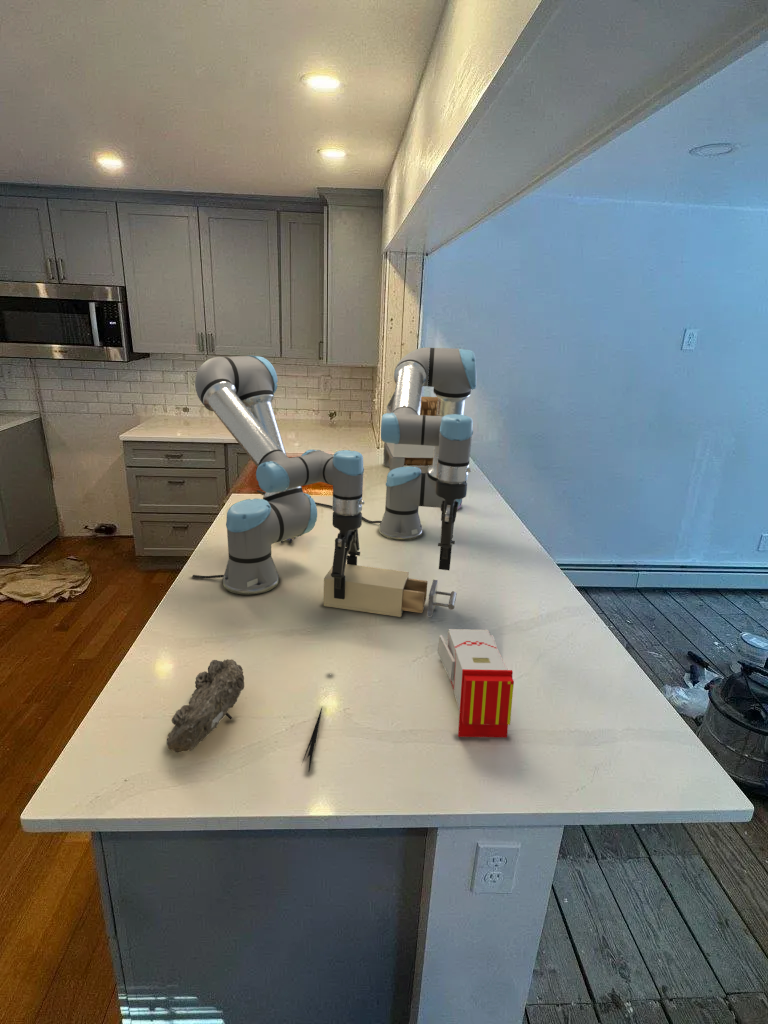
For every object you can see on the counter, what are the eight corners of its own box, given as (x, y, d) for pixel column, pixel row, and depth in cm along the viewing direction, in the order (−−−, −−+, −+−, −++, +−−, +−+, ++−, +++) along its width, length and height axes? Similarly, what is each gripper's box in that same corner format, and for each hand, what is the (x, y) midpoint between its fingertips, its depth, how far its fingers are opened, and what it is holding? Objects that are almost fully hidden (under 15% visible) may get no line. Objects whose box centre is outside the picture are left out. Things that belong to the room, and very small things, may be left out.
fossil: (192, 660, 117) (244, 628, 112) (224, 691, 120) (276, 661, 115) (142, 746, 98) (202, 712, 93) (182, 779, 101) (242, 748, 96)
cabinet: (407, 598, 155) (409, 572, 153) (400, 617, 146) (402, 588, 143) (334, 588, 159) (334, 562, 156) (323, 605, 150) (323, 578, 147)
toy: (488, 613, 130) (523, 677, 101) (484, 667, 133) (517, 744, 104) (435, 612, 130) (455, 676, 101) (432, 666, 133) (451, 743, 103)
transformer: (382, 463, 289) (386, 382, 275) (445, 464, 293) (451, 384, 279) (390, 482, 257) (394, 392, 243) (460, 483, 261) (468, 394, 247)
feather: (331, 679, 122) (336, 673, 122) (307, 777, 96) (313, 769, 95) (324, 675, 122) (329, 669, 121) (298, 772, 95) (304, 764, 95)
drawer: (455, 603, 152) (457, 582, 150) (452, 620, 144) (455, 598, 142) (365, 591, 157) (366, 570, 155) (357, 606, 148) (358, 585, 146)
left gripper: (349, 529, 133) (347, 611, 141) (372, 498, 155) (369, 570, 163) (318, 526, 135) (318, 606, 142) (345, 496, 157) (344, 567, 164)
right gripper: (465, 489, 130) (456, 581, 138) (469, 474, 142) (460, 560, 150) (433, 486, 131) (426, 577, 139) (439, 471, 143) (432, 556, 151)
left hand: (345, 587), depth 152 cm, fingers open, 12 cm apart
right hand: (444, 568), depth 145 cm, fingers closed
